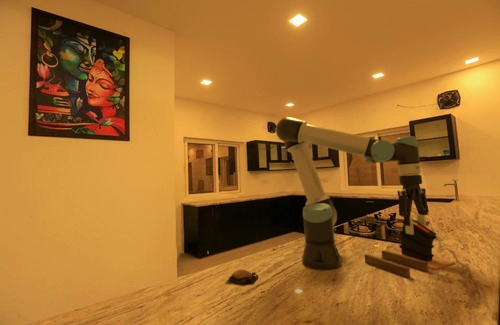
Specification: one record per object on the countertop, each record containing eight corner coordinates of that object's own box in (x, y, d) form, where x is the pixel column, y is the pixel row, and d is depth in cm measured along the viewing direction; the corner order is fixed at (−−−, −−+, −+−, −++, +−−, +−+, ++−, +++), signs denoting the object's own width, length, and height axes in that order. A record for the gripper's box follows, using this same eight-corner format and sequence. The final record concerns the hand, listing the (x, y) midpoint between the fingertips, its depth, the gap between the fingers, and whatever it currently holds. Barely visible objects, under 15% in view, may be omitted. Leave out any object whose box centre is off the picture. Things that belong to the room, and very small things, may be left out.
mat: (434, 270, 83) (434, 268, 83) (387, 256, 100) (387, 254, 100) (455, 263, 88) (455, 261, 88) (407, 251, 104) (407, 249, 104)
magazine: (399, 246, 103) (410, 217, 98) (429, 269, 92) (443, 237, 87) (393, 248, 102) (403, 218, 97) (422, 271, 91) (436, 238, 86)
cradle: (407, 277, 78) (406, 268, 79) (365, 262, 94) (364, 254, 94) (428, 271, 83) (427, 262, 83) (384, 257, 98) (384, 250, 98)
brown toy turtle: (224, 285, 83) (223, 275, 83) (232, 275, 91) (232, 266, 91) (253, 287, 80) (252, 276, 80) (259, 277, 88) (259, 267, 88)
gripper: (402, 175, 89) (408, 238, 87) (435, 173, 96) (442, 230, 95) (384, 176, 96) (390, 234, 94) (416, 174, 103) (422, 227, 102)
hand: (416, 232), depth 94 cm, fingers open, 7 cm apart
